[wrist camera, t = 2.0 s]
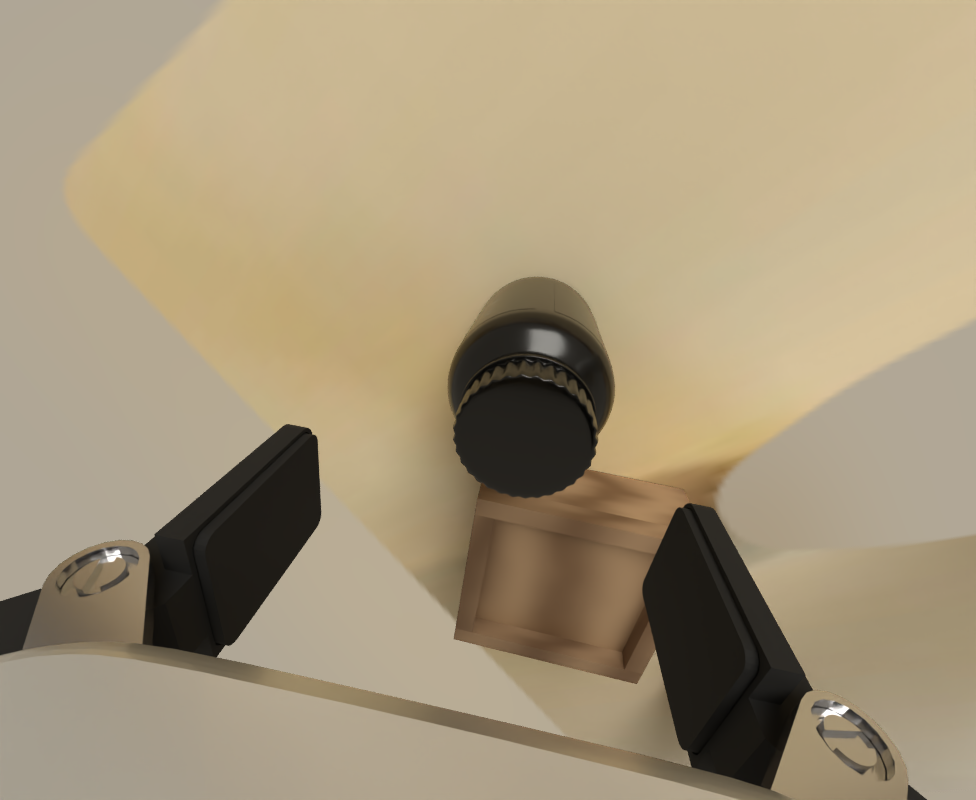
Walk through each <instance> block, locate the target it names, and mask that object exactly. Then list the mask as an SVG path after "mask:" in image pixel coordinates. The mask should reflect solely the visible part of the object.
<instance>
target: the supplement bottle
mask: <svg viewBox="0 0 976 800" xmlns="http://www.w3.org/2000/svg"><path fill="white" fill-rule="evenodd" d="M614 396H615V383H614V375H613V370H612V366H611V363H610V360H609V357H608V354H607V351H606V349H605V346H604V343H603V341H602V338H601V335H600V332H599V330H598V327H597V324H596V322H595V319H594V316H593V314H592V312H591V310H590V308H589V306H588V305H587V303H586V302H585V300H584V299H583V298H582V297H581V296H580V295H579V293H577V292H576V291H575V290H574V289H573V288H571V287H570V286H568V285H566V284H565V283H562V282H560V281H558V280H555V279H551V278H545V277H528V278H523V279H520V280H516V281H514V282H511V283H509V284H508V285H506V286H504V287H503V288H501V289H500V290H499V291H497V292H496V293H495V294H494V295H493V296H492V297H491V298H490V300H489V301H488V302H487V303H486V305H485V306H484V308H483V309H482V311H481V312H480V314H479V316H478V317H477V319H476V320H475V322H474V324H473V325H472V327H471V328H470V330H469V332H468V333H467V335H466V336H465V338H464V340H463V341H462V343H461V344H460V346H459V348H458V350H457V352H456V354H455V356H454V359H453V361H452V364H451V367H450V371H449V376H448V397H449V403H450V406H451V410H452V412H453V415H454V417H455V419H456V420H455V423H454V425H453V429H454V432H455V434H454V437H453V440H454V442H455V444H456V452H457V454H458V455H459V456H460V460H461V463H462V464H463V465H464V466H466V468H467V471H468V473H470V474H472V475H473V476H474V477H475V479H476V480H477V481H478V482H481V483H483V484H484V485H485V486H486V487H487V488H490V489H494V490H496V491H497V492H498V493H501V494H507V495H509V496H511V497H522V498H525V499H526V498H530V497H534V498H540V497H542V496H549V495H553V494H554V493H555V492H559V491H563V490H564V489H565V488H566V487H567V486H571V485H573V484H575V482H576V480H577V479H579V478H581V477H582V476H583V475H584V473H585V470H586V469H588V468H589V467H590V466H591V460H592V459H593V457H594V456H595V455H596V448H595V447H596V445H597V443H598V434H599V433H600V432H601V430H602V429H603V427H604V426H605V424H606V422H607V420H608V418H609V416H610V413H611V410H612V406H613V402H614Z"/></svg>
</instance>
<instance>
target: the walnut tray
mask: <svg viewBox="0 0 976 800" xmlns="http://www.w3.org/2000/svg"><path fill="white" fill-rule="evenodd" d="M687 503H689V500H688V498H687V496H686V493H685V491H684V490H683V489H678V488H674V487H669V486H664V485H659V484H655V483H650V482H645V481H640V480H635V479H631V478H626V477H621V476H616V475H611V474H607V473H602V472H597V471H592V470H587V469H586V470H585V473H584V475H583V476H582V477H581V478H579V479H577V480H576V482H575V484H573V485H571V486H567V487H566V488H565V489H564V490H563V491H559V492H555V493H554V494H553V495H549V496H542V497H540V498H534V497H530V498H526V499H525V498H522V497H511V496H509V495H507V494H501V493H498V492H497V491H496V490H494V489H490V488H487V487H486V486H485V485H484V484H483V483H481V487H480V491H479V494H478V498H477V504H476V510H475V516H474V522H473V528H472V533H471V539H470V545H469V551H468V557H467V563H466V569H465V575H464V581H463V587H462V593H461V599H460V605H459V611H458V617H457V623H456V629H455V634H454V639H456V640H460V641H464V642H468V643H472V644H476V645H480V646H484V647H488V648H492V649H496V650H501V651H505V652H509V653H513V654H517V655H521V656H525V657H529V658H533V659H537V660H541V661H545V662H549V663H553V664H557V665H562V666H566V667H570V668H574V669H578V670H582V671H586V672H590V673H594V674H598V675H602V676H606V677H610V678H614V679H619V680H623V681H627V682H631V683H635V684H637V683H638V681H639V679H640V677H641V675H642V673H643V672H644V670H645V668H646V666H647V664H648V662H649V661H650V659H651V657H652V655H653V653H654V651H655V650H656V648H655V644H654V640H653V636H652V632H651V628H650V624H649V619H648V615H647V611H646V607H645V603H644V599H643V594H642V586H643V581H644V579H645V577H646V574H647V572H648V570H649V568H650V565H651V563H652V561H653V559H654V557H655V554H656V552H657V550H658V548H659V546H660V543H661V541H662V539H663V537H664V535H665V532H666V530H667V528H668V526H669V524H670V521H671V519H672V517H673V515H674V513H675V511H676V509H677V508H679V507H681V508H683V507H684V505H686V504H687Z"/></svg>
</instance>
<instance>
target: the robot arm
mask: <svg viewBox="0 0 976 800" xmlns="http://www.w3.org/2000/svg"><path fill="white" fill-rule="evenodd" d="M320 518H321V499H320V479H319V460H318V440H317V437H316V436H315V435H312V432H311V430H310V429H309V428H305V427H300V426H295V425H290V424H286V425H284V426H283V427H282V428H280V429H279V430H278V431H277V432H276V433H275V434H273V435H272V436H271V437H270V438H269V439H267V440H266V441H265V442H264V443H263V444H261V445H260V446H259V447H258V448H257V449H255V450H254V451H253V452H252V453H251V454H250V455H248V456H247V457H246V458H245V459H244V460H242V461H241V462H240V463H239V464H238V465H236V466H235V467H234V468H233V469H232V470H231V471H229V472H228V473H227V474H226V475H225V476H223V477H222V478H221V479H220V480H219V481H217V482H216V483H215V484H214V485H213V486H211V487H210V488H209V489H208V490H207V491H206V492H204V493H203V494H202V495H201V496H200V497H198V498H197V499H196V500H195V501H194V502H193V503H191V504H190V505H189V506H188V507H186V508H185V509H184V510H183V511H182V512H181V513H179V514H178V515H177V516H176V517H175V518H174V519H172V520H171V521H170V522H169V523H167V524H166V525H165V526H164V527H163V528H162V529H160V530H159V531H158V532H157V533H156V534H155V537H154V538H153V539H151V540H150V541H149V542H148V543H147V544H145V545H143V544H142V543H139V542H136V541H133V540H117V541H110V542H104V543H101V544H98V545H95V546H92V547H89V548H87V549H84V550H82V551H80V552H78V553H76V554H74V555H72V556H71V557H69V558H68V559H66V560H65V561H63V562H62V563H60V564H59V565H58V566H57V567H56V568H55V569H54V570H53V571H52V572H51V573H50V574H49V575H48V577H47V579H46V581H45V582H44V584H43V587H42V589H39V590H36V591H33V592H29V593H26V594H22V595H20V596H16V597H13V598H10V599H6V600H3V601H0V800H927V799H925V798H924V797H923V796H922V795H920V794H919V793H918V792H917V791H916V790H914V789H913V788H912V787H911V786H910V785H908V775H907V768H906V765H905V763H904V761H903V759H902V757H901V754H900V752H899V750H898V749H897V748H896V746H895V745H894V743H893V742H892V741H891V739H890V738H889V736H888V735H887V734H886V733H885V732H884V731H883V730H882V729H881V727H880V726H879V725H878V724H877V723H876V722H875V721H874V720H873V719H872V718H871V717H869V716H868V715H867V714H866V713H864V712H863V711H862V710H861V709H860V708H858V707H857V706H855V705H854V704H852V703H851V702H849V701H847V700H846V699H844V698H842V697H840V696H838V695H835V694H833V693H830V692H828V691H820V690H813V689H812V688H811V686H810V684H809V682H808V680H807V679H806V677H805V673H804V671H803V669H802V667H801V666H800V664H799V662H798V660H797V658H796V657H795V655H794V653H793V651H792V649H791V648H790V646H789V644H788V642H787V640H786V638H785V637H784V635H783V633H782V631H781V629H780V628H779V626H778V624H777V622H776V620H775V618H774V617H773V615H772V613H771V611H770V609H769V608H768V606H767V604H766V602H765V600H764V598H763V597H762V595H761V593H760V591H759V589H758V588H757V586H756V584H755V582H754V580H753V578H752V577H751V575H750V573H749V571H748V569H747V568H746V566H745V564H744V562H743V560H742V558H741V557H740V555H739V553H738V551H737V549H736V548H735V546H734V544H733V542H732V540H731V538H730V537H729V535H728V533H727V531H726V529H725V528H724V526H723V524H722V522H721V520H720V518H719V517H718V515H717V513H716V511H715V510H714V509H713V508H711V507H706V506H701V505H696V504H691V503H687V504H686V505H684V507H683V508H681V507H679V508H677V509H676V511H675V513H674V515H673V517H672V519H671V521H670V524H669V526H668V528H667V530H666V532H665V535H664V537H663V539H662V541H661V543H660V546H659V548H658V550H657V552H656V554H655V557H654V559H653V561H652V563H651V565H650V568H649V570H648V572H647V574H646V577H645V579H644V581H643V586H642V594H643V599H644V603H645V607H646V611H647V615H648V619H649V624H650V628H651V632H652V636H653V640H654V644H655V648H656V652H657V656H658V660H659V664H660V668H661V673H662V677H663V681H664V685H665V689H666V693H667V697H668V701H669V705H670V709H671V713H672V717H673V721H674V726H675V730H676V734H677V738H678V741H679V744H680V746H681V748H682V749H683V750H686V751H688V755H689V758H690V762H691V766H692V767H688V766H684V765H680V764H676V763H672V762H668V761H664V760H661V759H657V758H653V757H649V756H645V755H641V754H637V753H632V752H628V751H624V750H620V749H615V748H611V747H607V746H603V745H598V744H594V743H590V742H586V741H582V740H577V739H573V738H569V737H565V736H560V735H556V734H552V733H547V732H543V731H539V730H535V729H531V728H526V727H522V726H518V725H514V724H510V723H505V722H501V721H496V720H492V719H488V718H484V717H479V716H475V715H470V714H466V713H462V712H458V711H453V710H449V709H445V708H440V707H436V706H431V705H427V704H423V703H419V702H414V701H410V700H405V699H401V698H397V697H392V696H388V695H384V694H379V693H375V692H371V691H366V690H361V689H357V688H353V687H349V686H344V685H340V684H335V683H330V682H326V681H322V680H317V679H313V678H308V677H304V676H300V675H295V674H291V673H286V672H281V671H277V670H273V669H268V668H264V667H259V666H255V665H251V664H246V663H240V662H236V661H231V660H226V659H221V658H216V657H217V656H218V655H219V653H220V652H221V650H222V649H223V648H224V646H225V645H228V646H229V645H232V644H233V643H234V642H235V641H236V640H237V638H238V637H239V636H240V634H241V633H242V631H243V630H244V629H245V627H246V626H247V624H248V623H249V622H250V620H251V619H252V617H253V616H254V615H255V613H256V612H257V610H258V609H259V608H260V606H261V605H262V603H263V602H264V601H265V599H266V598H267V596H268V595H269V593H270V592H271V591H272V589H273V588H274V586H275V585H276V584H277V582H278V581H279V580H280V578H281V577H282V575H283V574H284V573H285V571H286V570H287V568H288V567H289V566H290V564H291V563H292V561H293V560H294V559H295V557H296V556H297V554H298V553H299V552H300V550H301V549H302V547H303V546H304V545H305V543H306V542H307V540H308V539H309V537H310V536H311V535H312V533H313V532H314V530H315V529H316V528H317V526H318V524H319V521H320Z"/></svg>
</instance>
